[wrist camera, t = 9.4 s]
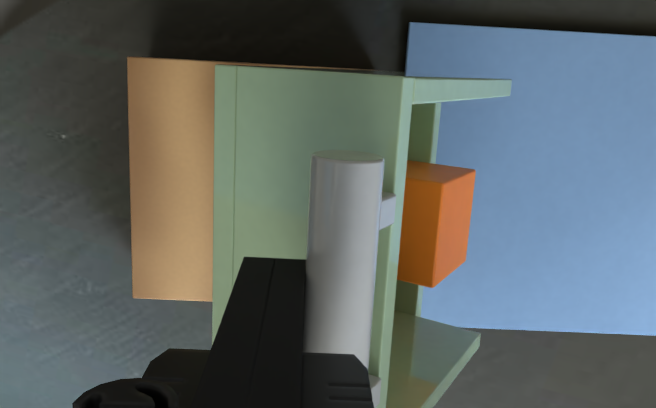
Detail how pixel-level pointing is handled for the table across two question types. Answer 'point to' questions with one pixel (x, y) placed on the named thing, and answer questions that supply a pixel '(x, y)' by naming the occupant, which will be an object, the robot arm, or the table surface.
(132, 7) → the table surface
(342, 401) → the robot arm
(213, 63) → the tan rectangular panel
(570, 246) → the mat
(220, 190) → the green open box
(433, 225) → the block
